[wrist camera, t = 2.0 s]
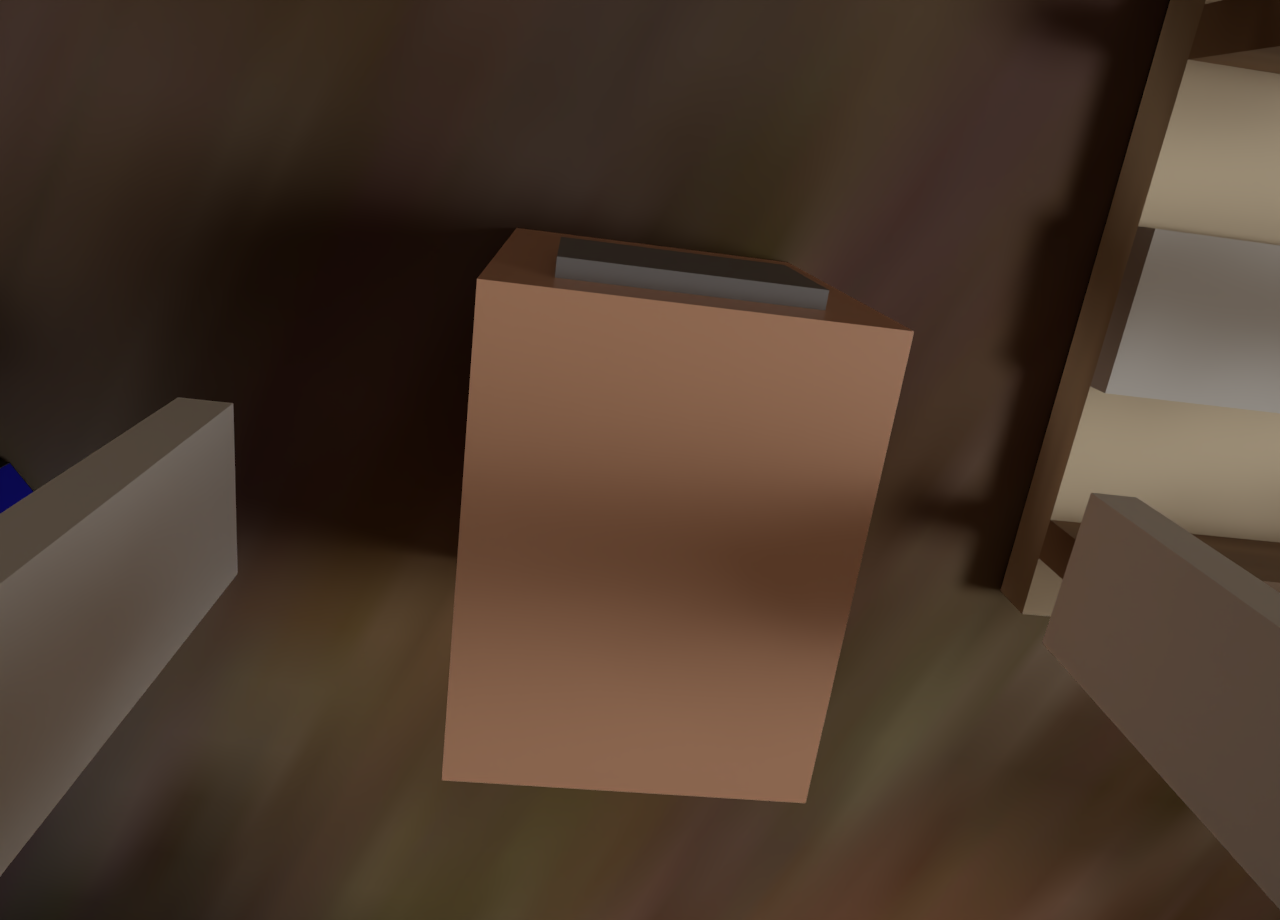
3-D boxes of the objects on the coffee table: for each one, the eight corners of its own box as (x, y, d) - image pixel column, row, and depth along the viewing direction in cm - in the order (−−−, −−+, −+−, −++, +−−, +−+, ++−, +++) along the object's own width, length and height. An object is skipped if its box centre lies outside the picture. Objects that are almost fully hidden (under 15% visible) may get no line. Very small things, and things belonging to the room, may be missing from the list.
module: (729, 583, 22) (805, 802, 15) (489, 562, 22) (441, 780, 14) (789, 248, 20) (919, 310, 12) (518, 213, 19) (478, 255, 12)
